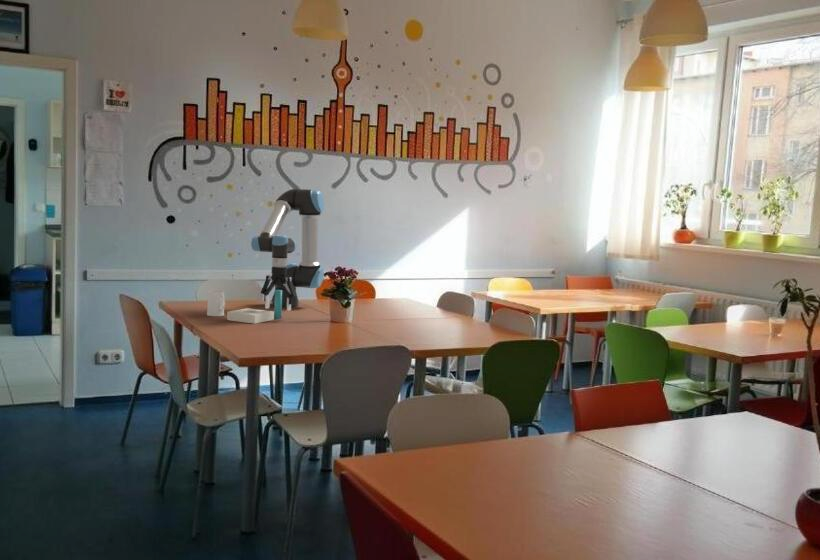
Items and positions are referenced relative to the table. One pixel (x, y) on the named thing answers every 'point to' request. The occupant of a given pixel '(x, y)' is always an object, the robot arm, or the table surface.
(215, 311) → the mug
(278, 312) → the peg
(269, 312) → the socket block
